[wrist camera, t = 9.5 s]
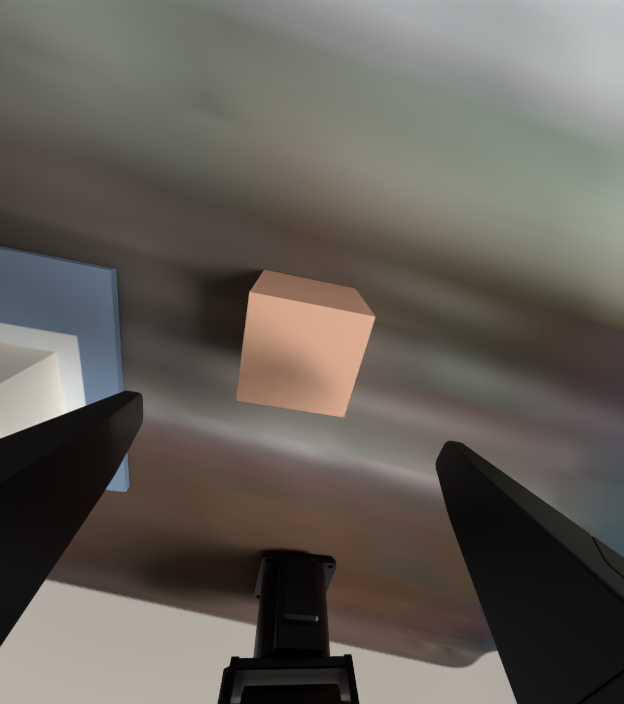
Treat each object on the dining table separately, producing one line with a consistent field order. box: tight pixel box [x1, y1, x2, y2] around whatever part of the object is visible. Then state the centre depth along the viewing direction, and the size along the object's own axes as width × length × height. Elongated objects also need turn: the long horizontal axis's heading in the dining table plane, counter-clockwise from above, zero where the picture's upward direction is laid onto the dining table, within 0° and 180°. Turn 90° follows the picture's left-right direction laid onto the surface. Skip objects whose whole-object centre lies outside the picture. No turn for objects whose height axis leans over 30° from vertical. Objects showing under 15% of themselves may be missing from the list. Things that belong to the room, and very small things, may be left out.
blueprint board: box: [0, 246, 129, 492], centre depth 18 cm, size 16×12×1 cm
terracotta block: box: [236, 270, 375, 417], centre depth 15 cm, size 5×5×5 cm
